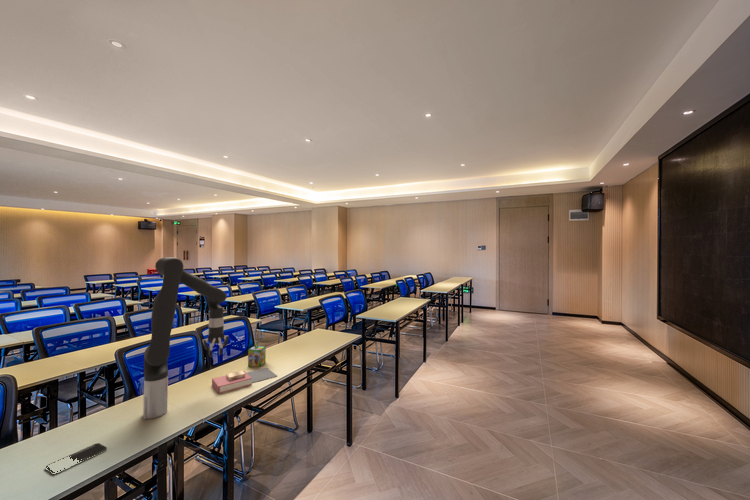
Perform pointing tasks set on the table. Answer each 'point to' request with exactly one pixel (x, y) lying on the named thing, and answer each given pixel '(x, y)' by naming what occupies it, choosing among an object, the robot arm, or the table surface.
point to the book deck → (230, 383)
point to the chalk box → (256, 356)
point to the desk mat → (261, 375)
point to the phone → (85, 453)
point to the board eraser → (235, 375)
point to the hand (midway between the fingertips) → (215, 355)
